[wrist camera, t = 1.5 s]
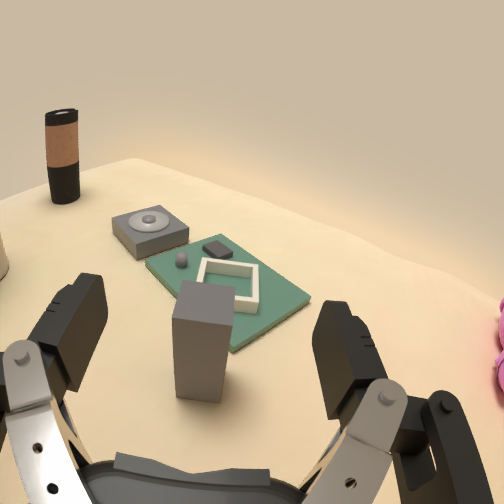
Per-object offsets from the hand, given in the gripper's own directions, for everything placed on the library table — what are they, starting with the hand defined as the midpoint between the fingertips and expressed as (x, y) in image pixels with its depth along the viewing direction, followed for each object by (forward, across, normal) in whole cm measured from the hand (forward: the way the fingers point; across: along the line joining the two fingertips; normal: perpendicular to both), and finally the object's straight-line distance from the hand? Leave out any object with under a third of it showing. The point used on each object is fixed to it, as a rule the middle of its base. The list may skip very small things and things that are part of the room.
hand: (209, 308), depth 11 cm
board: (+28, -1, +20) cm, 34 cm away
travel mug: (+51, +37, +18) cm, 66 cm away
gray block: (+11, +1, +20) cm, 23 cm away
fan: (+38, +13, +19) cm, 45 cm away
